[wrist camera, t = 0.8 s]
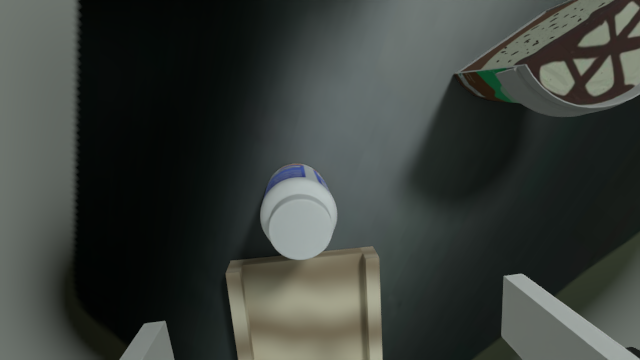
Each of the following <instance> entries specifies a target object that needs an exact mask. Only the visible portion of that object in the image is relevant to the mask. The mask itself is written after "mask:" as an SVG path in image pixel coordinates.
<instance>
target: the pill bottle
mask: <svg viewBox="0 0 640 360" xmlns="http://www.w3.org/2000/svg"><path fill="white" fill-rule="evenodd" d="M260 221H261V225H262V229H263V231H264V233H265V235H266V236H267V238H268V239H269V240H270V241H271V243H272V245H273V246H274V248H275V249H276V250H277V251H278V252H279V253H280V254H281V255H283V256H285V257H287V258H290V259H294V260H306V259H310V258H313V257H315V256H317V255H318V254H320V253H321V252H322V251H323V250H324V249H325V248H326V247H327V245H328V244H329V242H330V240H331V237H332V233H333V231H334V228H335V226H336V222H337V208H336V204H335V201H334V199H333V197H332V195H331V193H330V191H329V189H328V187H327V185H326V183H325V181H324V179H323V178H322V176H321V175H320V174H319V173H318V172H317V171H316V170H314V169H313V168H311V167H309V166H307V165H304V164H290V165H286V166H284V167H282V168H280V169H279V170H278V171H276V172H275V173H274V174H273V176H272V177H271V178H270V180H269V182H268V185H267V188H266V192H265V195H264V199H263V202H262V206H261V211H260Z"/></svg>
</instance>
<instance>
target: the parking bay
mask: <svg viewBox="0 0 640 360" xmlns="http://www.w3.org/2000/svg"><path fill="white" fill-rule="evenodd" d="M226 280H227V287H228V294H229V301H230V307H231V314H232V321H233V328H234V334H235V341H236V348H237V355H238V360H382V332H381V302H380V271H379V257H378V255H377V253H376V251H375V250H374V248H373V246H371V247H361V248H351V249H341V250H331V251H322V252H321V253H320V254H318V255H317V256H315V257H313V258H310V259H306V260H294V259H290V258H287V257H285V256H283V255H282V256H272V257H263V258H253V259H243V260H233V261H230V264H229V266H228V269H227V271H226Z"/></svg>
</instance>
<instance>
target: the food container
mask: <svg viewBox="0 0 640 360" xmlns="http://www.w3.org/2000/svg"><path fill="white" fill-rule="evenodd" d="M454 75H455V77H456V78H457V80H458V81H459V83H460V84H461V85H462V86H463V87H464V88H465V89H466V90H468V91H469V92H470V93H471V94H473V95H474V96H477V97H480V98H483V99H486V100H490V101H501V102H512V103H521V104H522V105H524V106H526V107H527V108H529V109H531V110H533V111H535V112H538V113H542V114H545V115H549V116H557V117H571V116H579V115H583V114H587V113H592V112H596V111H601V110H605V109H609V108H612V107H614V106H617V105H619V104H622V103H624V102H625V101H627V100H630V99H632V98H634V97H636V96H638V95H639V94H640V0H569V1H567V2H564V3H562V4H559V5H557V6H555V7H552V8H550V9H548V10H546V11H544V12H543V13H541V14H540V15H538V16H537V17H535V18H534V19H533V20H531V21H530V22H528V23H527V24H525V25H524V26H522V27H521V28H520V29H518V30H517V31H515V32H514V33H512V34H511V35H509V36H508V37H507V38H505V39H504V40H502V41H501V42H499V43H498V44H496V45H495V46H494V47H492V48H491V49H489V50H488V51H486V52H485V53H483V54H482V55H481V56H479V57H478V58H476V59H475V60H473V61H472V62H470V63H469V64H468V65H466V66H465V67H463V68H462V69H460V70H459V71H457V72H456V73H455V74H454Z"/></svg>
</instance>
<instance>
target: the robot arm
mask: <svg viewBox="0 0 640 360" xmlns="http://www.w3.org/2000/svg"><path fill="white" fill-rule="evenodd" d="M501 336H502V337H503V338H504V339H505V341H506V342H507V343H508V344H509V345H510V346H511V347H512V348H513V349H514V350H515V351H516V352H517V354H518V355H519V356H520V357H521V358H522V359H523V360H640V350H637V349H636V348H633V347H629V348H624V347H623V346H621V345H620V344H618V343H617V342H616V341H614V340H613V339H612V338H610V337H609V336H607V335H606V334H605V333H603V332H602V331H601V330H599V329H598V328H597V327H595V326H594V325H592V324H591V323H589V322H588V321H587V320H585V319H584V318H583V317H581V316H580V315H579V314H577V313H576V312H574V311H573V310H572V309H570V308H569V307H568V306H566V305H565V304H563V303H562V302H561V301H559V300H558V299H556V298H555V297H554V296H552V295H551V294H550V293H548V292H547V291H545V290H544V289H543V288H541V287H540V286H539V285H537V284H536V283H534V282H533V281H532V280H530V279H529V278H527V277H526V276H525V275H523V274H516V275H508V276H504V283H503V307H502V332H501ZM120 360H174V356H173V352H172V347H171V343H170V339H169V334H168V330H167V326H166V322H165V321H161V322H153V323H146V324H144V325H143V326H142V328H141V329H140V331H139V332H138V333H137V335H136V336H135V338H134V339H133V341H132V342H131V344H130V345H129V347H128V348H127V350H126V351H125V353H124V354H123V355H122V357H121V358H120Z"/></svg>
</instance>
